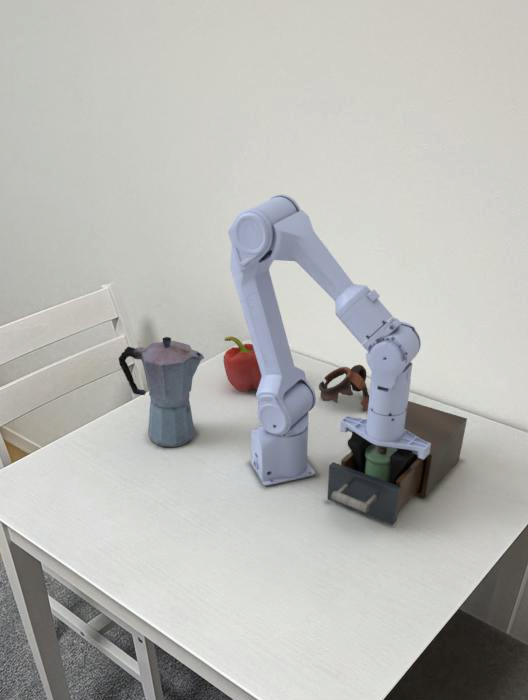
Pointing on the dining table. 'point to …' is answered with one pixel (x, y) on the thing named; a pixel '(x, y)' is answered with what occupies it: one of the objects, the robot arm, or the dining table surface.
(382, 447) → the pot
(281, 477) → the robot arm
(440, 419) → the cabinet
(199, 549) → the dining table surface
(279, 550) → the dining table surface
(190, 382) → the moka pot
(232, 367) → the vegetable
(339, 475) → the drawer
